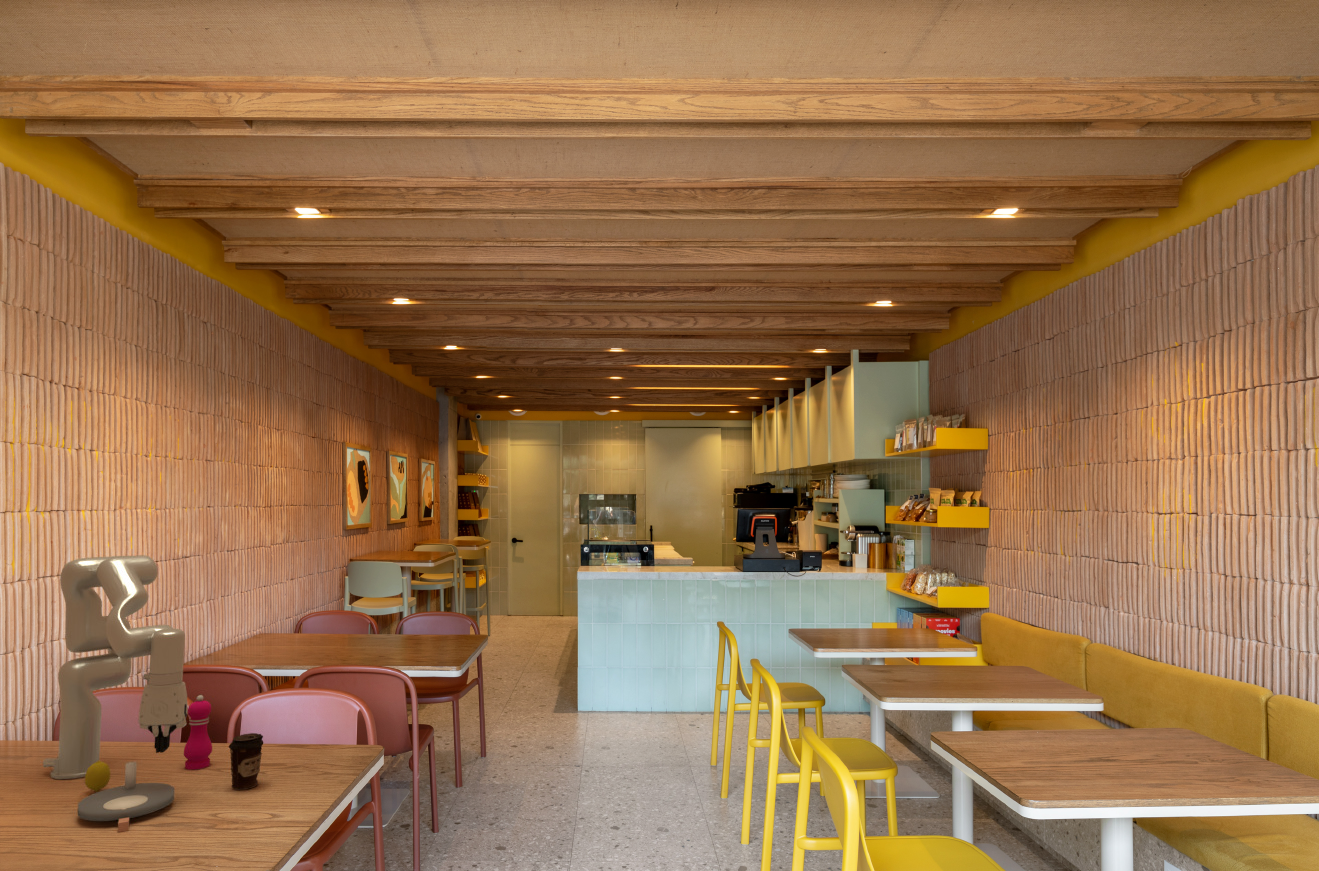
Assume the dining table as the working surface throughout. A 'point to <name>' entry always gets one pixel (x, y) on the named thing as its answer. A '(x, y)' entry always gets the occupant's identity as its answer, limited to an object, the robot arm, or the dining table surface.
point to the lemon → (97, 776)
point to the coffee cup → (245, 760)
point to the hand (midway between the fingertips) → (161, 750)
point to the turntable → (126, 799)
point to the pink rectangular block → (123, 824)
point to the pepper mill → (198, 736)
